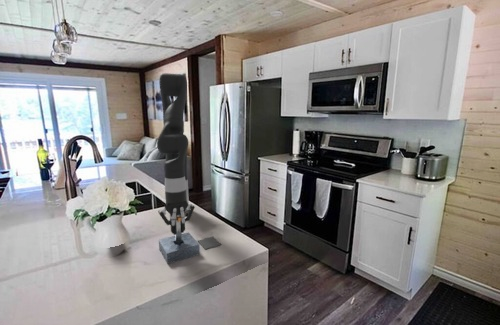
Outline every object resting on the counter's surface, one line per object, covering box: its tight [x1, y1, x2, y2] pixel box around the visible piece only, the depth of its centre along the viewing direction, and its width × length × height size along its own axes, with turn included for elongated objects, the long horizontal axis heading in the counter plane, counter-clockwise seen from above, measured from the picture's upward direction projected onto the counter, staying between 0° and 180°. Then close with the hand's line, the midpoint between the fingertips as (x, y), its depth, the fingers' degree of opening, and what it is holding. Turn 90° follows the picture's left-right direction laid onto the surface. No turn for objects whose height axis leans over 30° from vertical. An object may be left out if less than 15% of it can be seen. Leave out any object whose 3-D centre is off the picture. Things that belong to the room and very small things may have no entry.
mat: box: [197, 236, 222, 250], centre depth 106 cm, size 8×7×1 cm
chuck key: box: [174, 215, 183, 243], centre depth 98 cm, size 5×2×11 cm, turn 32°
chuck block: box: [158, 232, 201, 265], centre depth 99 cm, size 12×12×4 cm
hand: (178, 232), depth 98 cm, fingers closed on chuck key, 2 cm apart
